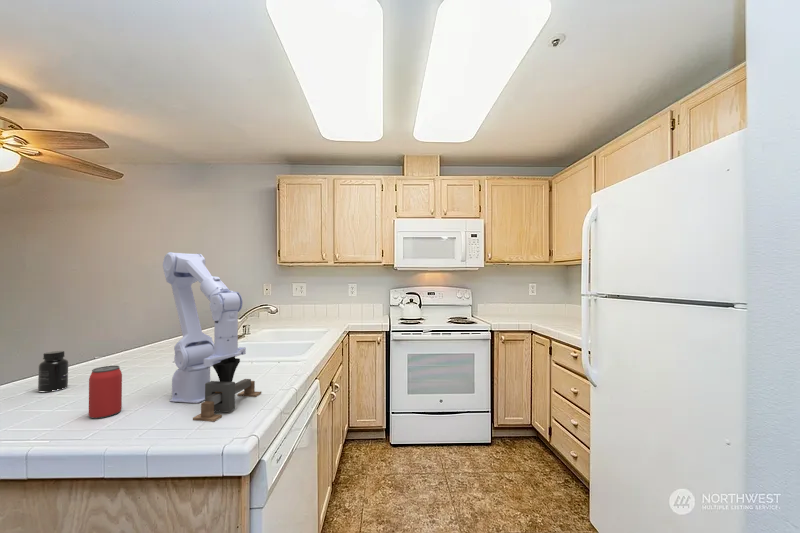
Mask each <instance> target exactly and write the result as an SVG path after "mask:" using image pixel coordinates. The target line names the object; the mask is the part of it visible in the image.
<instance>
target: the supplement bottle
mask: <svg viewBox="0 0 800 533" xmlns="http://www.w3.org/2000/svg"><path fill="white" fill-rule="evenodd" d="M64 357H65V351H64V350H56V351H49V352H44V353H43V357H42V360H43V361H42V362H40V363H39V365H38V375H37V376H38V380H37V385H38V386H37V391H38V392H39V391H52V390H57V389H62V388H65V387H68V385H69V361H68V360H67V359H66V358H64ZM65 389H66V388H65ZM62 390H63V389H62Z"/></svg>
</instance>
